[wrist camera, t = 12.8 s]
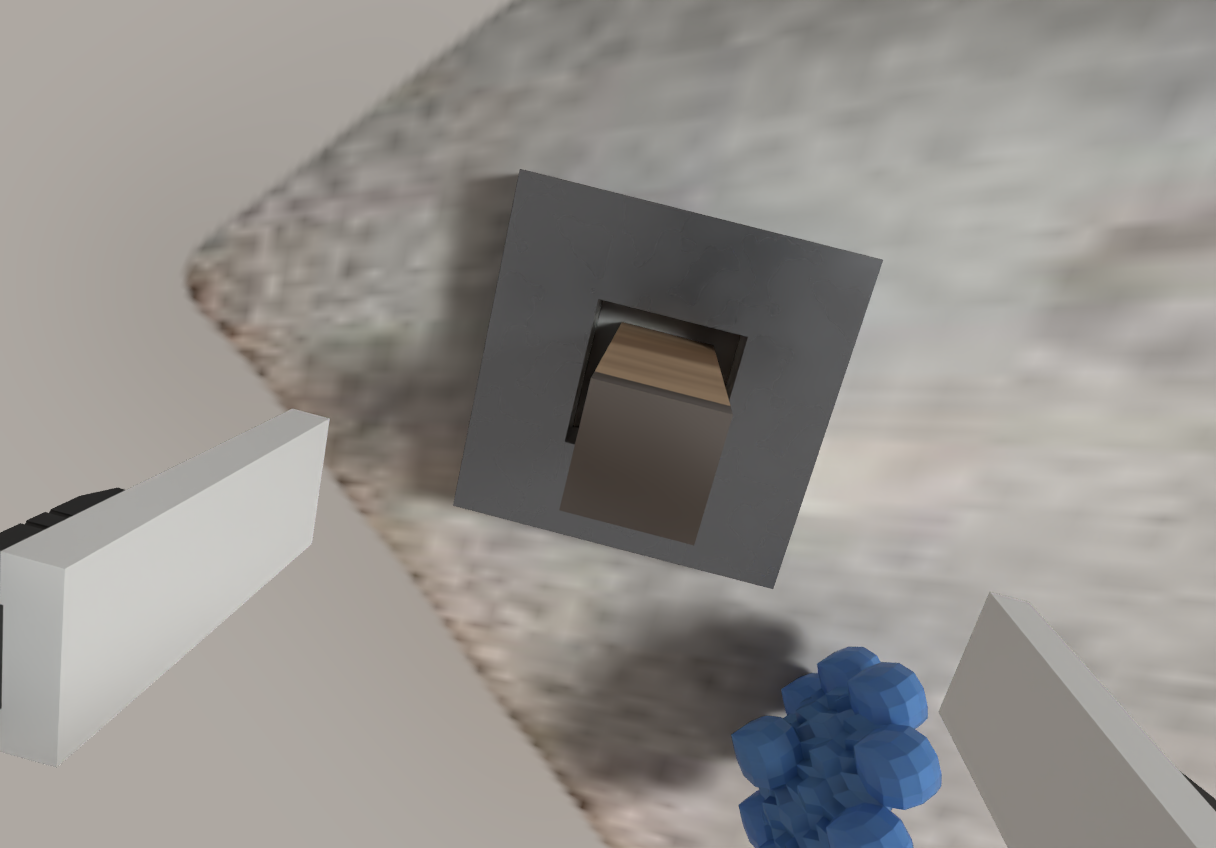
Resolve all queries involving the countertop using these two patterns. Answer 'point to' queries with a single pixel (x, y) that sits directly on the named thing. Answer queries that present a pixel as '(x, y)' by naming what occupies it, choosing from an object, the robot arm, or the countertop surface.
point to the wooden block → (650, 435)
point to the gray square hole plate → (678, 288)
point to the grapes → (839, 758)
